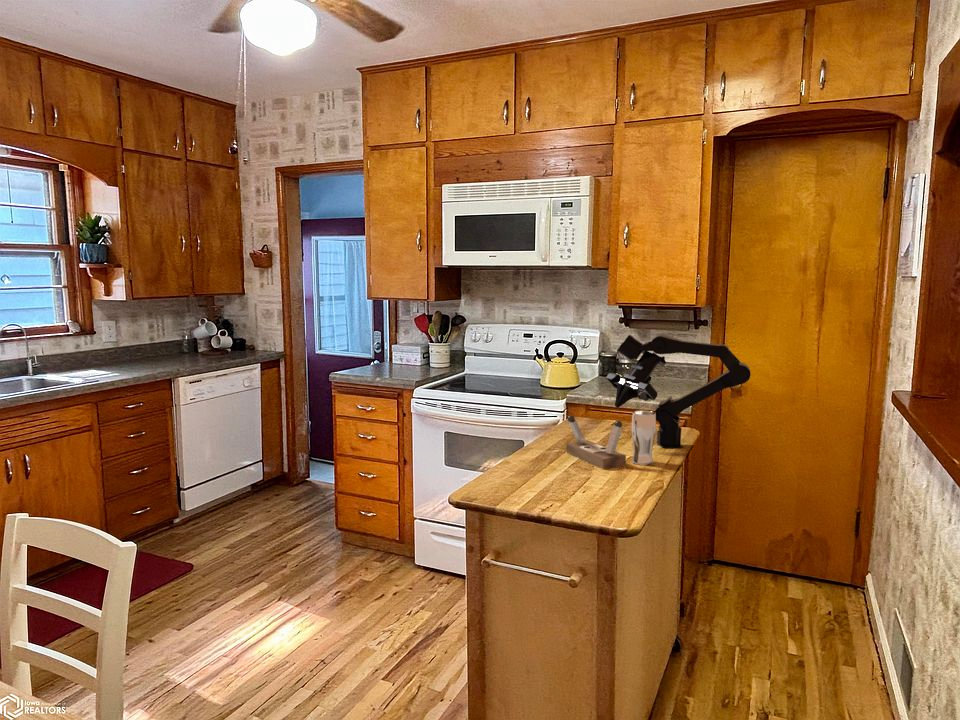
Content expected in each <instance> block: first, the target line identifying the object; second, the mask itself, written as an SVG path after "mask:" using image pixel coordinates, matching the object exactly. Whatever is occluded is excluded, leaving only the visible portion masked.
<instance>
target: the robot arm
mask: <svg viewBox="0 0 960 720" xmlns="http://www.w3.org/2000/svg"><path fill="white" fill-rule="evenodd" d="M617 353H619V354H620V355H622V356H623V357H625V358H627V359H628V360H629V361H631V362H632V361H633V360H634V361H637V362H636V363H635V364H631V366H630V368H631V371H629V373H628V374H624V375H623V377H622V376H621V375H620V374H619V373H615V372H609V373H608V374H607V376H605V379H606V380H607V382H609V383H610V385H611V386H612V387H613V388H615V389H616V397H615V400H614V407H615V408H617V409H618V408H620V407H622V406H623V405H625V404H626V403H627V402H628V401H630V400H632V399H639V400H644V401H645V402H647V401H649V400H650V401H655V400H656V398H657V397H658V391H657V389H655V387H654V386H653V384H652V383H650V382H651V381H652V376H651V375H652V374H653V372H654V371H655V369H656V368H657V367H658V366H660V367H665V365H666V363H667V362H666V357H665V355H671V354H673V355H674V354H687V355H697V356H705V357H713V358H719V360H720V361H721V362H722V363H723V365H724V366H725V367H726V370H725V371H724V372H723V373H722V374H721V375H720V376H718V377H716V378H715V379H713V380H711V381H709V382H707V383H705V384H704V385H701V386H699V387H697V388H696V389H694V390H692V391H690V392H688V393H686V394H684V395H682V396H680V397H679V398H674V399H673V397H672V396H671V395H670V396H669V397H668V398H667V399H665V400H661V401H660V402H659V403H658V405H657V407H656V409H655V410H654V412H655V413H656V423H657V422H658V424H659V426H658V430H656V435H657V436H656V444H657V445H659V446H660V447H661V448H663V449H675V448H676V449H677V448H683V447H684V446H683V445H682V444H681V443H682V441H681V439H682V427H681V426H679V425H680V423H681V421H682V420H681V417H680V416H679V415H680V414H681V413H683V412H684V411H685V410H687V409H688V408H691V407H692V406H694V405H696V404H697V403H700V402H702V401H704V400H706V399H708V398H710V397H712V396H714V395H715V394H717V393H719V392H721V391H723V390H725V389H729V388H733V387H737V386H741V385H742V384H747V382H748V381H749V380H750V379H751V375H752V374H751V369H750V366H749V365H748V364H746V363H745V362H741V361H740V360H739V358H738V357H737V356H736V355H735V354H734V353H733V352H732V351H731V350H730V348H729V346H728V345H726V344H724V343H723V344H716V343H715V344H714V343H707V342H699V341H698V342H697V341H689V340H682V339H678V338H676V337H674V336H669V335H666V334H658V335H656V336H655V337H654V338H653V339H652V340H651V341H646V342H644V343H643V342H641V341H639V339H636V338H635V337H634V336H633V335H632V334H629V335H627V337H626V338H625V340H624V341H623V342H622V343H621V344H620V345H619V347H618V349H617ZM641 354H642V355H641ZM640 355H641V356H640ZM659 355H664V356H659ZM639 357H640V358H639ZM638 359H639V360H638Z"/></svg>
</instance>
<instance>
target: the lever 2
mask: <svg viewBox="0 0 960 720" xmlns="http://www.w3.org/2000/svg"><path fill="white" fill-rule="evenodd" d="M622 431H623V422H622V421H621V420H615V422H614V425H612V427H611V431H610V434H609V437H608V440H607V443H606V449H605V452H608V453H610V454H614V453H615V451H616V450H617V446H618V443H619V440H620V437H621V433H622Z"/></svg>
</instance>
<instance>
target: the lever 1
mask: <svg viewBox="0 0 960 720" xmlns="http://www.w3.org/2000/svg"><path fill="white" fill-rule="evenodd" d="M567 422H568V424H569V427H570V429H571V430H572V431H571V432H572V434H573V435H574V438H575V440H576V442H579V443H581V444H583V443H584V442H586V438H585V437H584V434H583V433H582V430H581V428H580V425H579V424H578V421H577V419H576V418H575V416H574V415H571V414H570V415H568V416H567Z"/></svg>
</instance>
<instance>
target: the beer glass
mask: <svg viewBox="0 0 960 720" xmlns="http://www.w3.org/2000/svg"><path fill="white" fill-rule="evenodd" d="M656 434H657V421H656V413H655V411H651V410H644V409H643V410H641V409H640V410H634V411H632V417H631V436H632V437H631V438H632V445H633V455H632V459H631V462H632V463H633V464H634V463H635V465H638V464H641V465H640V466H648V465H647V464H651V465H653V464H654V458H653V449H654V448H653V447H654V443H655V438H656ZM652 463H653V464H652Z"/></svg>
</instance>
